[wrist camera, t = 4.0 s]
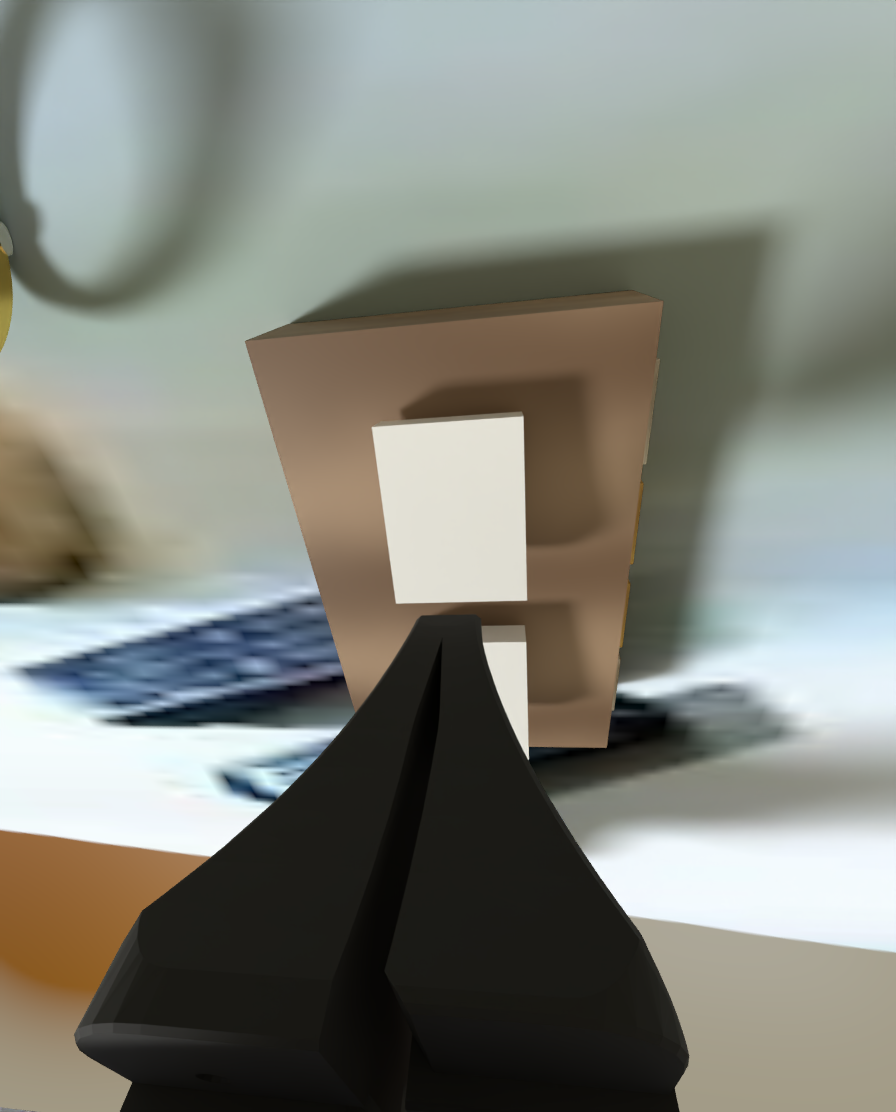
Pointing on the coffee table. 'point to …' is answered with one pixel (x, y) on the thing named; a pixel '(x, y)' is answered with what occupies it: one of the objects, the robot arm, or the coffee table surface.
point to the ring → (5, 283)
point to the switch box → (549, 462)
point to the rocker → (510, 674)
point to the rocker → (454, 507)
